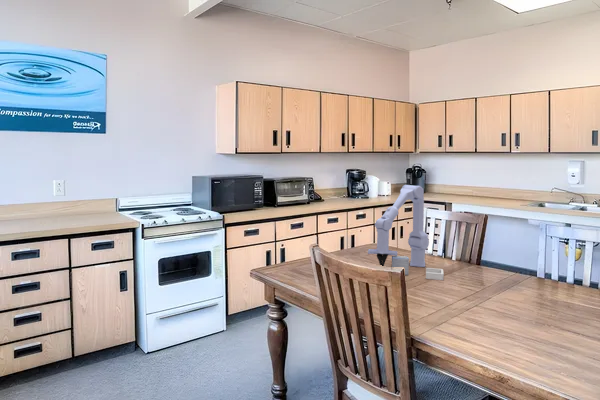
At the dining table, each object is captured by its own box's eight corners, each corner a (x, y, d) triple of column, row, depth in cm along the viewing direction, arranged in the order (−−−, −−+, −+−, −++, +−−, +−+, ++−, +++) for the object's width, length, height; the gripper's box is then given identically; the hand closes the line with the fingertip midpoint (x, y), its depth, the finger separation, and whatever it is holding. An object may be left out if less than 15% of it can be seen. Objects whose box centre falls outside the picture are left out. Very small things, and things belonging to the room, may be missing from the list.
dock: (425, 273, 210) (426, 267, 210) (442, 275, 208) (443, 269, 207) (425, 278, 201) (426, 272, 201) (443, 280, 199) (443, 274, 199)
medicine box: (407, 272, 211) (407, 256, 210) (408, 275, 207) (409, 258, 206) (391, 272, 212) (391, 255, 211) (392, 274, 208) (392, 257, 207)
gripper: (367, 242, 208) (366, 269, 210) (397, 244, 204) (396, 271, 206) (369, 239, 215) (368, 265, 217) (398, 241, 211) (397, 268, 212)
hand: (382, 268), depth 212 cm, fingers closed
